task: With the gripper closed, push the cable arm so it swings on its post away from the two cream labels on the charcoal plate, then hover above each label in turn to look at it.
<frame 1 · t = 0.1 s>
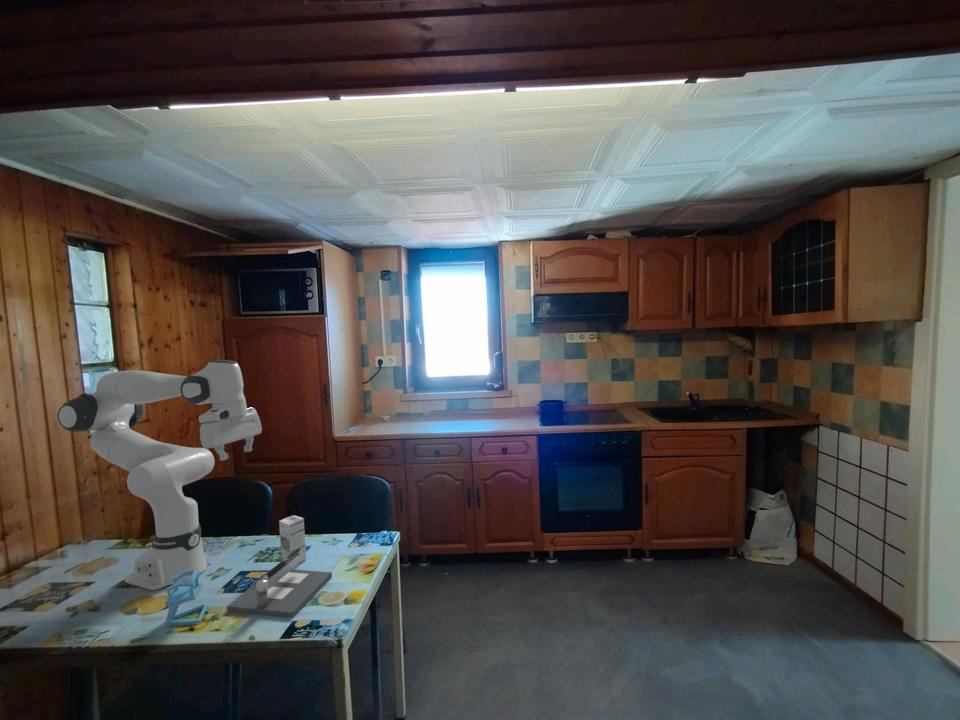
hand: (236, 455, 125), 39 cm above the table, tool pointing down, fingers open, 8 cm apart
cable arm: (281, 568, 117), point 7 cm above the table, hinge at 0.0°
chair: (185, 619, 107), on the table
label plate: (282, 593, 117), on the table
syrup box: (293, 562, 135), on the table
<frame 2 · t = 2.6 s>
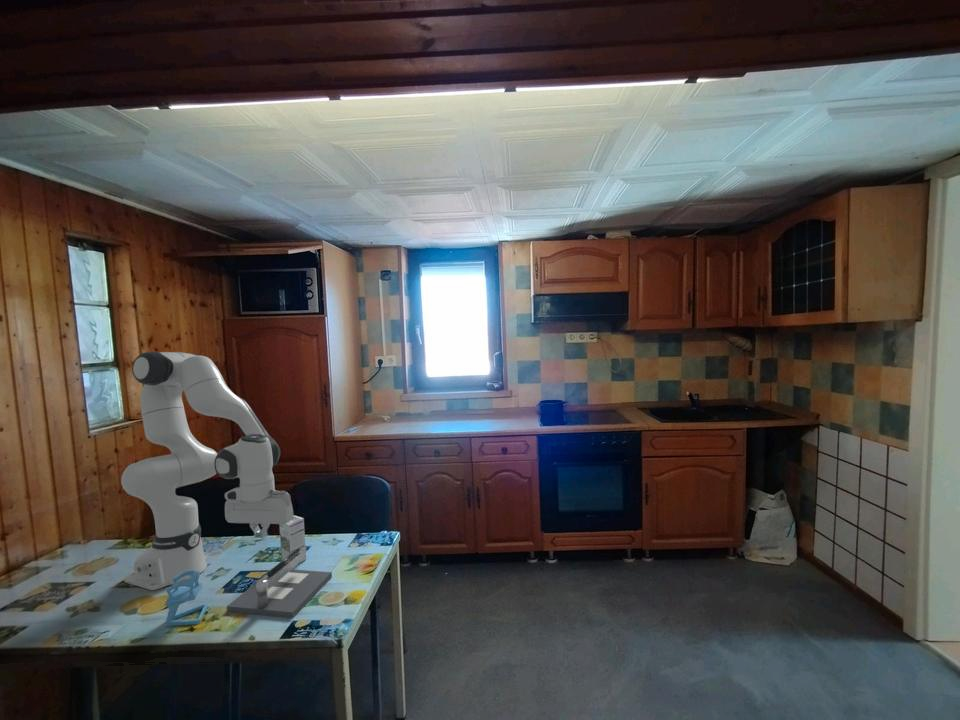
hand: (260, 537, 118), 16 cm above the table, tool pointing down, fingers closed
nothing on the table moved.
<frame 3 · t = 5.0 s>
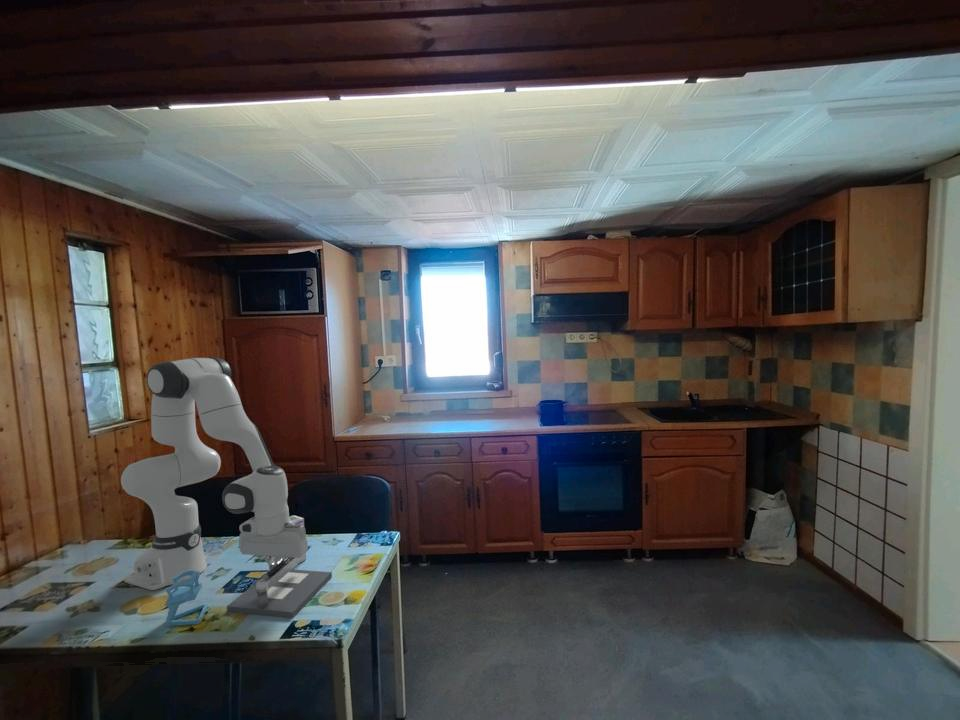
hand: (274, 569, 118), 7 cm above the table, tool pointing down, fingers closed
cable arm: (281, 568, 117), point 7 cm above the table, hinge at 0.0°, touching gripper
everything else where it was.
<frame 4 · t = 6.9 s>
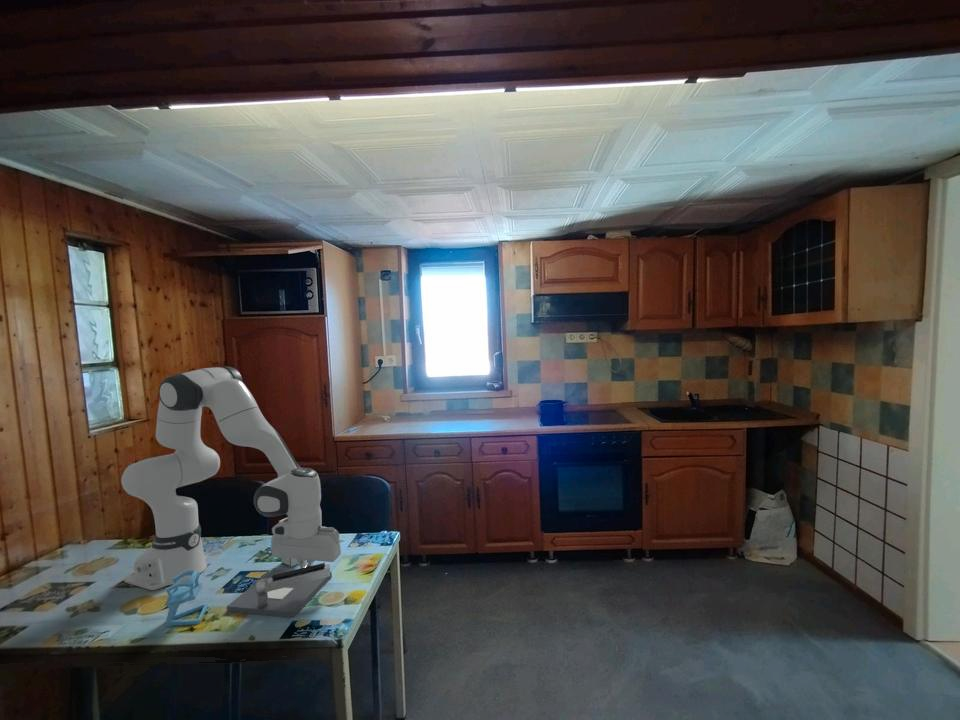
hand: (306, 572, 116), 6 cm above the table, tool pointing down, fingers closed
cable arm: (294, 577, 112), point 7 cm above the table, hinge at -55.4°, touching gripper
everything else where it was.
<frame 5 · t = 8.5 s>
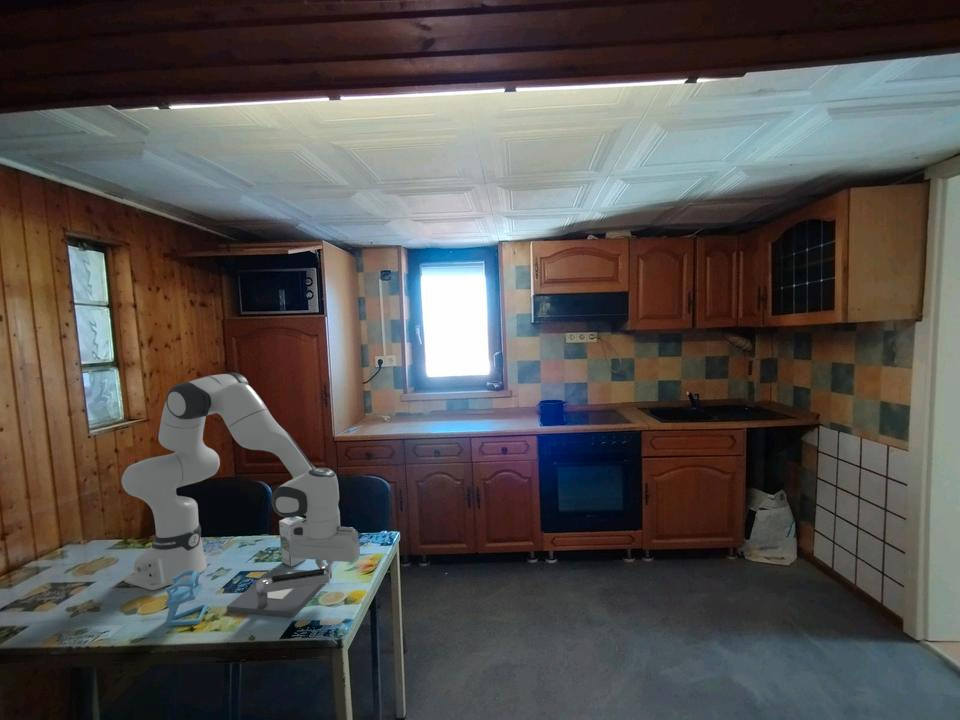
hand: (325, 573, 115), 6 cm above the table, tool pointing down, fingers closed
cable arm: (293, 580, 111), point 7 cm above the table, hinge at -66.7°, touching gripper
everything else where it was.
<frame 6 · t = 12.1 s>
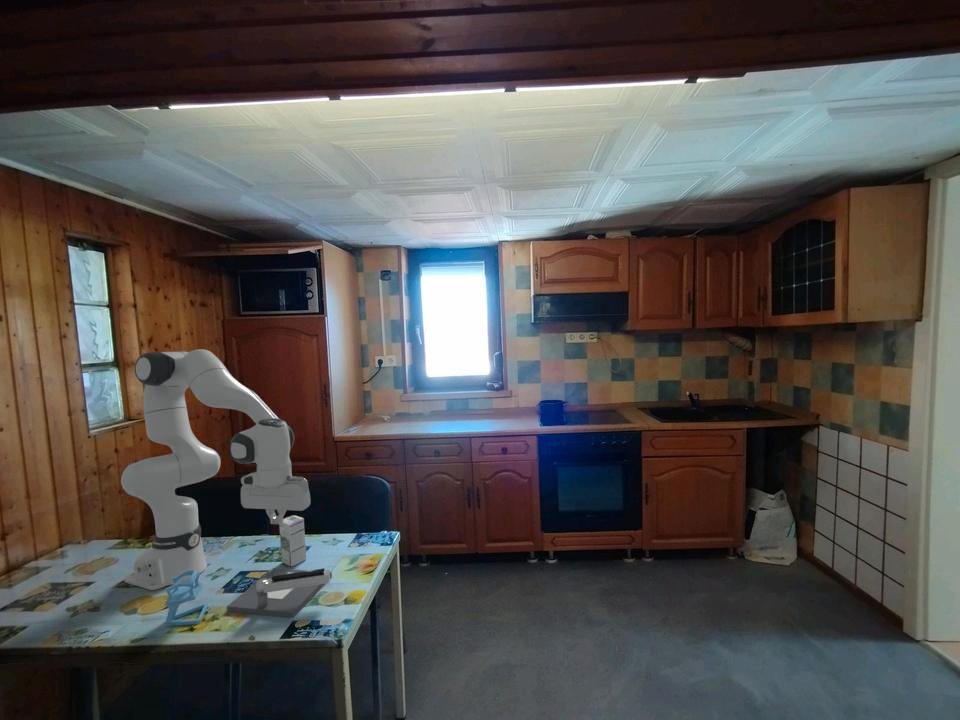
hand: (277, 523, 116), 21 cm above the table, tool pointing down, fingers closed
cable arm: (293, 580, 111), point 7 cm above the table, hinge at -66.8°
everything else where it was.
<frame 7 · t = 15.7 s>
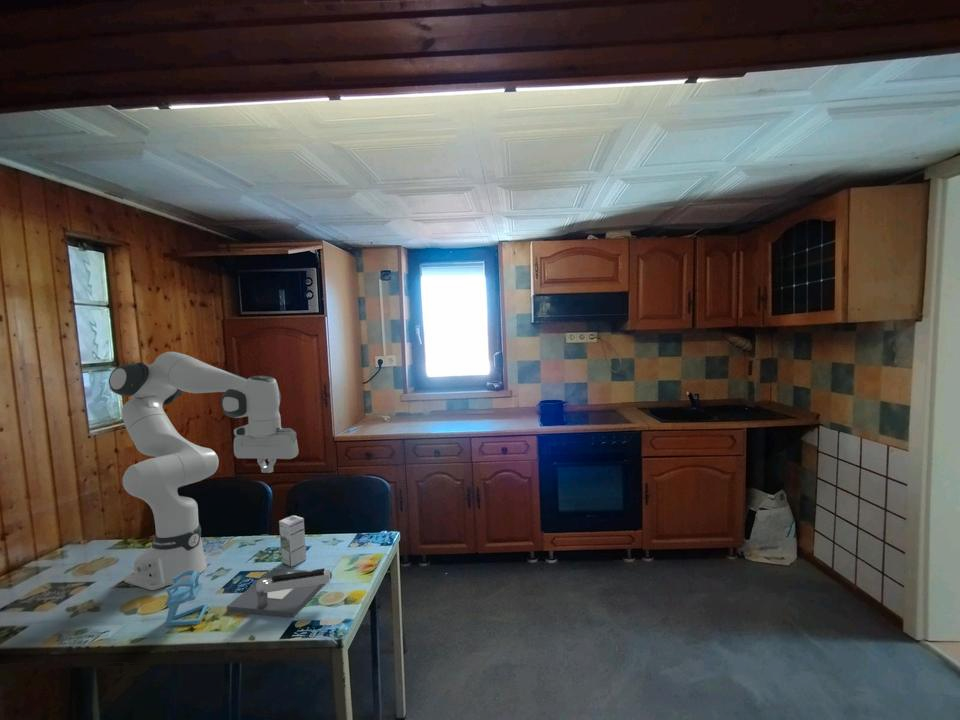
hand: (267, 472, 125), 33 cm above the table, tool pointing down, fingers closed
nothing on the table moved.
at the end: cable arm at -67° (first picture: +0°); syrup box moved 0.2 cm from its start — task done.
